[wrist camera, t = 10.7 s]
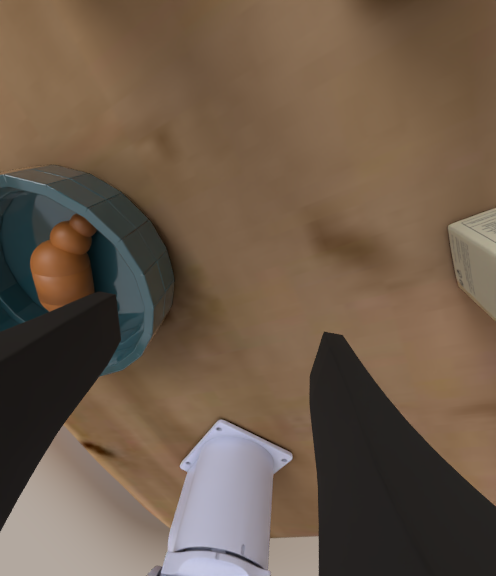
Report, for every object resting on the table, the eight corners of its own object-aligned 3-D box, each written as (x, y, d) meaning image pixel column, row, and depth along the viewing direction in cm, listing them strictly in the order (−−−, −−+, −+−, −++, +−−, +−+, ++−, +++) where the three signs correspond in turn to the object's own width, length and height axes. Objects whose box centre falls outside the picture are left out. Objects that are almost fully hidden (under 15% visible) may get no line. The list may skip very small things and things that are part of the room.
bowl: (140, 364, 25) (116, 403, 22) (-15, 287, 23) (-69, 317, 20) (208, 238, 19) (189, 265, 15) (1, 117, 17) (-74, 117, 13)
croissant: (68, 313, 23) (37, 340, 20) (44, 201, 18) (0, 216, 16) (114, 322, 23) (89, 350, 20) (101, 211, 18) (67, 228, 16)
